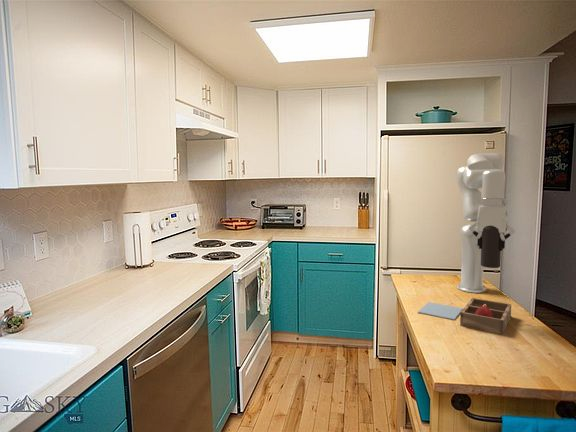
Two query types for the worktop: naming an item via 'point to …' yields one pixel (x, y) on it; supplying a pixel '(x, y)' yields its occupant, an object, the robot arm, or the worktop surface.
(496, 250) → the vinegar
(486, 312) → the onion
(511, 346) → the worktop surface
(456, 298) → the worktop surface
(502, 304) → the rack
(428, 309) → the mat
